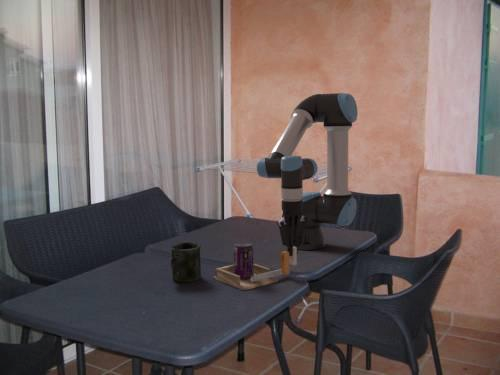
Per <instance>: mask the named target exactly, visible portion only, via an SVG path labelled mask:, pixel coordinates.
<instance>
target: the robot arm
mask: <svg viewBox="0 0 500 375" xmlns="http://www.w3.org/2000/svg"><path fill="white" fill-rule="evenodd" d="M357 120H358V106H357V101H356V100H355V98H354V96H353V95H352V94H351V93H346V92H345V93H342V92H340V93H316V94H312V95H310V96H308V97H306V98H304V99H303V100H301V102H299V103H298V104H297V105H296V106H295V107H294V109H293V110H292V112H291V114H290V120H289V121H288V123H287V125H286V127H285V129H284V130H283V132H282V133H281V135H280V137H279V139H278V140H277V142H276V144H275V145H274V147H273V148H272V150H271V152H270V153H269V155H268V156H267V157H261V158H259V159H258V161H257V163H256V171H257V175H258V176H259V177H260V178H266V179H280V181H281V184H280V186H281V187H280V188H281V193H280V194H281V199H282V200H281V210H282V214H281V219H280V220H276V224H277V226H278V229H279V234H280V238H281V244H282V246H284V247H287V252H289V265H291V266H297V265H298V254H299V250H301V251H314V250H315V251H316V250H321V249H323V248H326V240H325V237H324V233H323V231H322V224H323V225H335V226H349V225H351V224H352V223H353V221H354V219H355V216H356V213H357V208H358V207H357V206H358V204H357V200H356V198H354V197H353V196H352V195H353V194H352V191H351V190H349V131H350V130H351V128H352V127H353V123H355V122H356V121H357ZM316 123H323V128H324V129H325V131H326V137H327V138H326V145H327V146H326V150H327V152H326V185H327V186H326V190H324V191H323V195H322V193H321V192H320V191H309V192H308V191H307V192H304V193H303V182H304V181H306V180H309V179H311V178H314V177H315V176H316V175H317V172H318V164H317V163H316V161H315V159H313V158H309V157H304V158H302V156H300V155H293V153H294V152H295V150H296V149H297V147H298V145H299V144H300V142H301V140H302V138H304V137H303V136H304V135H305V133H306V131H307V129H309V128H311V127H312V126H313V124H316Z"/></svg>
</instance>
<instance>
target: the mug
mask: <svg viewBox="0 0 500 375" xmlns="http://www.w3.org/2000/svg"><path fill="white" fill-rule="evenodd" d="M201 248H202V245H201V244H200V243H198V242H191V241H190V242H179V243H174V244H171V245H170V248H169V249H170V250H171V260H170V268H171V272H172V280H174V281H175V282H178V283H191V282H195V281H198V280H200V278H201V277H202V270H201Z"/></svg>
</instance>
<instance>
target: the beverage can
mask: <svg viewBox="0 0 500 375" xmlns="http://www.w3.org/2000/svg"><path fill="white" fill-rule="evenodd" d="M233 246H234V247H233V250H232V252H233V254H232V256H233V258H232V260H233V263H232V264H233V265H234V274H236V275H239V276H240V279H249V278H251V276H254V264H255V262H254V247H253V243H252V242H248V241H247V242H246V241H243V242H242V241H241V242H235V243H234V245H233Z"/></svg>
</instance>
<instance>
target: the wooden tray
mask: <svg viewBox="0 0 500 375" xmlns="http://www.w3.org/2000/svg"><path fill="white" fill-rule="evenodd" d="M214 271H215V275H214V276H213V280H215V281H216V280H217V281H218V282H220V283H224V284H227V285H229V286H232V287H234V288H236V289H240V290H242V291H247V290H251V289H255V288H258V287H263V286H267V285H271V284H274V283H277V282H279V278H277V277H273V278H269V279H265V280H261V281H257V282H251V278H249V279H240V276H239V275H236V274H234V264H230V265H225V266H222V267H217V268H215V270H214ZM270 271H271V268H270V267H266V266H263V265H259V264H257V263H254V275H258V274H262V273H266V272H270Z"/></svg>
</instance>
